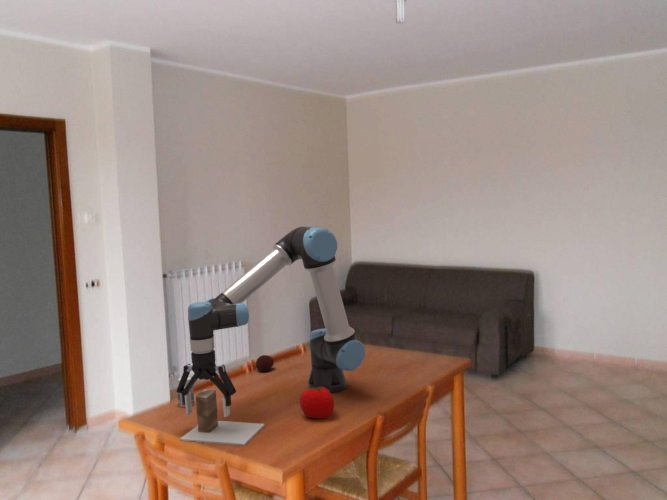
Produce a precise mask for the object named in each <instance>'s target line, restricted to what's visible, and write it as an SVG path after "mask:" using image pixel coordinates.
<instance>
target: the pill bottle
mask: <svg viewBox="0 0 667 500" xmlns="http://www.w3.org/2000/svg"><path fill="white" fill-rule="evenodd" d="M191 378H192V377H191V376H188V379H187V382H186V384H185V387H186V385H187V384H188V383H189V381H190V380H191ZM180 380H181V377H179V378H178V379H177V383H178V384H179V383H180ZM185 387H184V388H185ZM177 388H178V385H177ZM177 388H176V389H177ZM188 393H191V401H192V406H193V405H195V393H194V385H193V386H192V388H191V389H190V390H189V392H188ZM177 402H178V403H177V404H178V406H179V407H180V408H186V407H185V404H183V396H182V394H181V393H177Z"/></svg>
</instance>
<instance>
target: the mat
mask: <svg viewBox="0 0 667 500" xmlns="http://www.w3.org/2000/svg"><path fill="white" fill-rule="evenodd" d="M265 426H266V424H265V423H259V422H258V423H256V422H243V421H242V422H241V421H226V420H225V421H224V420H218V426H217V427H216V428H215V429H213V430H212V431H211V432H210V433H206V432H198V424H197V425H196V426H195V427H193V428H192V429H190V431H188V432H187V433H186V434H184V435H183V436H182V437H180V438H179V442H180V441H181V442H190V441H193V442H192V443H194V441H195V443H202V442H204V443H205V444H214V445H215V444H216V445H217V444H218V445H228V446H229V445H230V446H241V447H242V446H243V447H244V446H246V445H247V444H248V443H249V442H250V441H251V440H252V439H253V438H254V437H255V436H256V435H258V433H259V432H260V431H261V430H262V429H263V428H264V427H265Z"/></svg>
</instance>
